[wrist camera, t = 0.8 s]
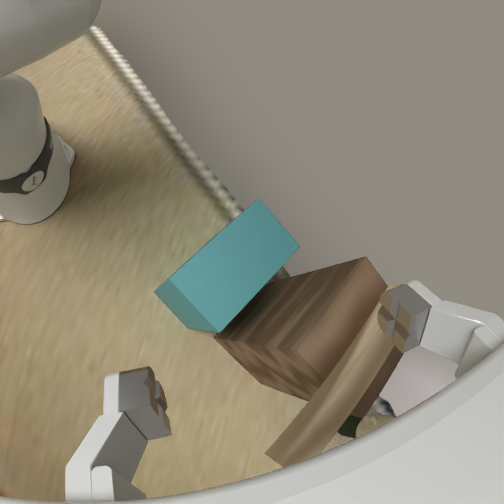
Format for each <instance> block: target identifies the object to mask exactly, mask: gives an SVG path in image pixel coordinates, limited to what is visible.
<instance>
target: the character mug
mask: <svg viewBox="0 0 504 504" xmlns="http://www.w3.org/2000/svg"><path fill="white" fill-rule="evenodd" d="M394 418H396V417H393V416H390V415H382V414H380V413H376V412H374V413H371V414H369V415H367V414H366V415H365V416H364V418H363V419H362V418H359V417H356V416H352V415H349V416H348V417H347V419H346V420H345V421H344V423H343V424H342V425H341V427H340V428H339V429H338V432H339V433H340V435H343V436H347V437H352V438H357V437H359V436H361V435H364V434H366V433H368V432H370V431H372V430H374V429H376V428H378V427H379V426H381V425H383V424H385V423H387V422H389V421H391V420H393V419H394Z"/></svg>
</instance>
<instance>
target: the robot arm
mask: <svg viewBox="0 0 504 504" xmlns="http://www.w3.org/2000/svg"><path fill="white" fill-rule="evenodd" d="M100 5H101V0H0V221H6V220H9V221H12V222H15V223H19V224H32V223H36V222H39V221H41V220H43V219H45V218H47V217H48V216H50V215H51V214H52V213H53V212H54V211H55V210H56V209H57V208H58V207H59V206H60V204H61V203H62V201H63V200H64V198H65V196H66V193H67V190H68V187H69V180H70V167H71V165H72V163H73V160H74V158H75V152H74V150H73V148H71V147H70V146H69V145H68V144H67V143H66V142H64V141H63V140H62V138H61V136H60V135H58V136H57V135H56V134H55V133H54V132H53V131H52V130H51V128H50V126H49V124H48V122H47V120H46V118H45V117H44V116H43V113H42V109H41V104H40V100H39V96H38V93H37V90H36V89H35V87H34V86H33V85H32V84H31V83H30V82H29V81H28V80H26V79H25V78H23V77H21V76H19V75H17V74H13V73H12V72H14V71H16V70H18V69H21V68H23V67H25V66H27V65H29V64H32V63H34V62H36V61H38V60H41V59H43V58H45V57H46V56H48V55H50V54H51V53H53V52H55V51H57V50H58V49H60V48H62V47H64V46H65V45H67V44H69V43H71V42H72V41H74V40H76V39H78V38H79V37H81V36H83V35H85V34H86V32H87V31H88V30H89V28H90V27H91V25H92V24H93V22H94V20H95V18H96V16H97V14H98V11H99V9H100ZM379 302H380V303H381V304H382V306H381V307H380V309H379V310H378V315H377V320H378V324H379V326H380V328H381V330H382V331H383V332H384V334H386V335H389V336H391V337H392V343H393V344H394V345H395V346H396V347H397V348H398V349H399V351H400V352H401V353H404V352H406V351H408V350H410V349H412V348H414V347H416V346H418V345H420V346H421V347H423V348H425V349H428V350H430V351H432V352H434V353H436V354H438V355H441V356H443V357H445V358H447V359H450V360H452V361H454V362H456V363H459V366H458V368H457V370H456V373H455V377H456V378H457V380H455V381H454V382H452V383H451V384H450V385H448V386H447V387H445V388H444V389H442V390H441V391H439V392H438V393H436V394H435V395H433V396H431V397H430V398H428V399H427V400H425V401H423V402H422V403H420V404H419V405H417V406H415V407H414V408H412V409H410V410H408V411H407V412H405V413H403V414H402V415H400V416H398V417H396V418H394V419H393V420H391V421H389V422H387V423H385V424H383V425H381V426H379V427H378V428H376V429H374V430H372V431H370V432H368V433H366V434H364V435H361V436H359V437H357V438H355V439H353V440H351V441H349V442H347V443H344V444H342V445H340V446H338V447H335V448H333V449H331V450H328V451H326V452H323V453H321V454H319V455H316V456H314V457H311V458H308V459H306V460H303V461H300V462H298V463H295V464H292V465H289V466H287V467H284V468H281V469H278V470H275V471H272V472H268V473H265V474H262V475H259V476H255V477H252V478H248V479H245V480H241V481H237V482H233V483H230V484H226V485H221V486H217V487H213V488H208V489H203V490H198V491H193V492H188V493H182V494H176V495H170V496H163V497H156V498H148V499H146V494H144V493H143V492H142V491H140V490H139V489H138V488H136V487H135V486H133V485H132V484H131V481H132V479H133V476H134V474H135V472H136V469H137V467H138V464H139V462H140V460H141V457H142V455H143V453H144V450H145V448H146V446H147V443H148V441H147V440H152V439H157V438H161V437H166V436H170V435H172V434H171V428H170V422H169V418H168V416H167V415H166V413H165V411H166V409H167V402H166V398H165V394H164V391H163V389H162V386H161V385H160V383H159V381H156V380H155V376H154V372H153V370H152V369H151V367H149V366H148V367H143V368H138V369H133V370H127V371H122V372H118V373H113V374H107V375H106V377H105V382H104V408H103V415H101V416H99V417H98V419H97V420H96V422H95V423H94V425H93V426H92V428H91V429H90V431H89V432H88V434H87V435H86V437H85V438H84V440H83V441H82V443H81V444H80V446H79V447H78V449H77V451H76V452H75V454H74V455H73V457H72V458H71V460H70V461H69V463H68V464H67V466H66V482H65V489H66V502H49V501H35V500H25V499H16V498H9V497H2V496H0V504H504V321H503V320H502V319H501V318H500V317H498V316H497V315H496V314H493V313H490V312H486V311H483V310H479V309H475V308H472V307H468V306H464V305H461V304H457V303H453V302H450V301H446V300H445V301H441V300H440V299H439V298H438V297H437V296H436V295H434V294H433V293H432V292H431V291H430V290H429V289H427V288H426V287H425V286H423V284H421V283H420V282H419V281H417V280H414V279H413V280H411V281H409V282H406V283H404V284H401V285H399V286H397V287H394V288H392V289H390V290H387V291H385V292H382V294H381V295H380V300H379Z"/></svg>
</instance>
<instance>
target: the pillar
mask: <svg viewBox="0 0 504 504" xmlns="http://www.w3.org/2000/svg"><path fill="white" fill-rule="evenodd" d="M387 287H388V286H387V285H386V283H385V282H384V280H383V279H382V278H381V276H380V275H379V273H378V272H377V271H376V269H375V268H374V267H373V265H372V264H371V262H370V261H369V260H368V258H367V257H362V258H359V259H355V260H352V261H348V262H345V263H341V264H337V265H334V266H330V267H327V268H323V269H319V270H315V271H312V272H308V273H305V274H301V275H297V276H293V277H289V278H286V279H282V280H278V281H274V282H270V283H266V284H265V285H264V286H263V287H262V288H261V289H260V290H259V292H258V293H257V294H256V295H255V296H254V297H253V298H252V299H251V300H250V301H249V302H248V303H247V304H246V305H245V306H244V308H243V309H242V310H241V311H240V312H239V313H238V314H237V315H236V316H235V317H234V318H233V319H232V320H231V321H230V322H229V323H228V324H227V325H226V326H225V328H224V329H223V330H222V331H221V332H220V333H217V334H216V335H215V336H214V337H213V338H214V339H215V340H216V341H217V342H218V343H219V344H220V345H221V346H222V347H223V348H224V349H225V350H226V351H227V352H228V353H229V354H230V355H232V356H233V357H234V358H235V359H236V360H237V361H238V362H239V363H240V364H241V365H242V366H243V367H244V368H245V369H246V370H247V371H248V372H249V373H250V374H251V375H252V376H253V377H254V378H255V379H256V380H258V381H259V382H260V383H261V384H263V385H266V386H268V387H271V388H273V389H276V390H279V391H281V392H284V393H287V394H289V395H292V396H295V397H298V398H300V399H303V400H306V401H309V400H310V399H311V398H312V397H313V395H314V394H315V393H316V391H317V390H318V389H319V388H320V386H321V385H322V384H323V382H324V381H325V380H326V378H327V377H328V376H329V374H330V373H331V372H332V370H333V369H334V368H335V366H336V365H337V363H338V362H339V361H340V359H341V358H342V356H343V355H344V354H345V352H346V351H347V349H348V348H349V346H350V345H351V344H352V342H353V341H354V339H355V338H356V336H357V335H358V333H359V332H360V330H361V329H362V327H363V326H364V324H365V323H366V321H367V320H368V318H369V316H370V315H371V313H372V312H373V310H374V309H375V307H376V305H377V304H378V302H379V300H380V295H381V294H382V292H385V291H386V289H387ZM402 355H403V353H401V352H400V351H399V349H398V348H397V347H396V346H395V345H394V347H393V348H392V350H391V352H390V353H389V355H388V357H387V358H386V360H385V362H384V363H383V365H382V367H381V368H380V370H379V371H378V373H377V375H376V376H375V378H374V379H373V381H372V382H371V384H370V385H369V387H368V388H367V390H366V391H365V393H364V394H363V396H362V397H361V399H360V400H359V402H358V403H357V405H356V406H355V408H354V409H353V410H352V412H351V413H350V415H352V416H356V417H359V418H362V419H363V418H364V416H365V415H366V413H367V412H368V411H369V409H370V408H371V406H372V405H373V403H374V401H375V400H376V398H377V397H378V395H379V394H380V392H381V391H382V389H383V387H384V386H385V384H386V382H387V381H388V379H389V377H390V376H391V374H392V372H393V371H394V369H395V368H396V366H397V364H398V362H399V361H400V359H401V357H402Z"/></svg>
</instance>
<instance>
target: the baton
mask: <svg viewBox="0 0 504 504" xmlns="http://www.w3.org/2000/svg"><path fill="white" fill-rule="evenodd" d="M400 285H401V284H400ZM397 286H399V285H395V286H389V287H387V289H386V291H387V290H390V289H392V288H394V287H397ZM381 306H382V304H381V303H380V302H378V304H377V305H376V307H375V309H374V310H373V312H372V313H371V315H370V316H369V318H368V320H367V321H366V323H365V324H364V326H363V327H362V329H361V330H360V332H359V333H358V335H357V336H356V338H355V339H354V341H353V342H352V344H351V345H350V346H349V348H348V349H347V351H346V352H345V354H344V355H343V356H342V358H341V359H340V361H339V362H338V363H337V365H336V366H335V368H334V369H333V370H332V372H331V373H330V374H329V376H328V377H327V378H326V380H325V381H324V382H323V384H322V385H321V386H320V388H319V389H318V390H317V391H316V393H315V394H314V395H313V397H312V398H311V399H310V400H309V402H308V403H307V404H306V405H305V407H304V408H303V409H302V410H301V412H300V413H299V414H298V415H297V416H296V418H295V419H294V420H293V421H292V422H291V424H290V425H289V426H288V427H287V428H286V430H285V431H284V432H283V433H282V434H281V435H280V436H279V438H278V439H277V440H276V441H275V442H274V443H273V444H272V445H271V447H270V448H269V449H268V450H267V451H266V452H265V454H266V455H268V456H269V457H270V458H272V459H273V460H274V461H276V462H277V463H278V464H280V465H281V466H283V467H287V466H289V465H292V464H295V463H298V462H300V461H303V460H306V459H308V458H311V457H314V456H316V455H319V454H320V452H321V451H322V450H323V449H324V448H325V446H326V445H327V444H328V442H329V441H330V440H331V439H332V437H333V436H334V435H335V433H336V432H337V431H338V429H339V428H340V427H341V425H342V424H343V423H344V421H345V420H346V419H347V417H348V416H349V415H350V413H351V412H352V410H353V409H354V408H355V406H356V405H357V403H358V402H359V400H360V399H361V397H362V396H363V394H364V393H365V391H366V390H367V388H368V387H369V385H370V384H371V382H372V381H373V379H374V378H375V376H376V375H377V373H378V371H379V370H380V368H381V367H382V365H383V363H384V362H385V360H386V358H387V357H388V355H389V353H390V352H391V350H392V348H393V347H394V344H393V343H392V337H391V336H389V335H386V334H384V332H383V331H382V330H381V328H380V326H379V324H378V320H377V315H378V310H379V309H380V307H381Z"/></svg>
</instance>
